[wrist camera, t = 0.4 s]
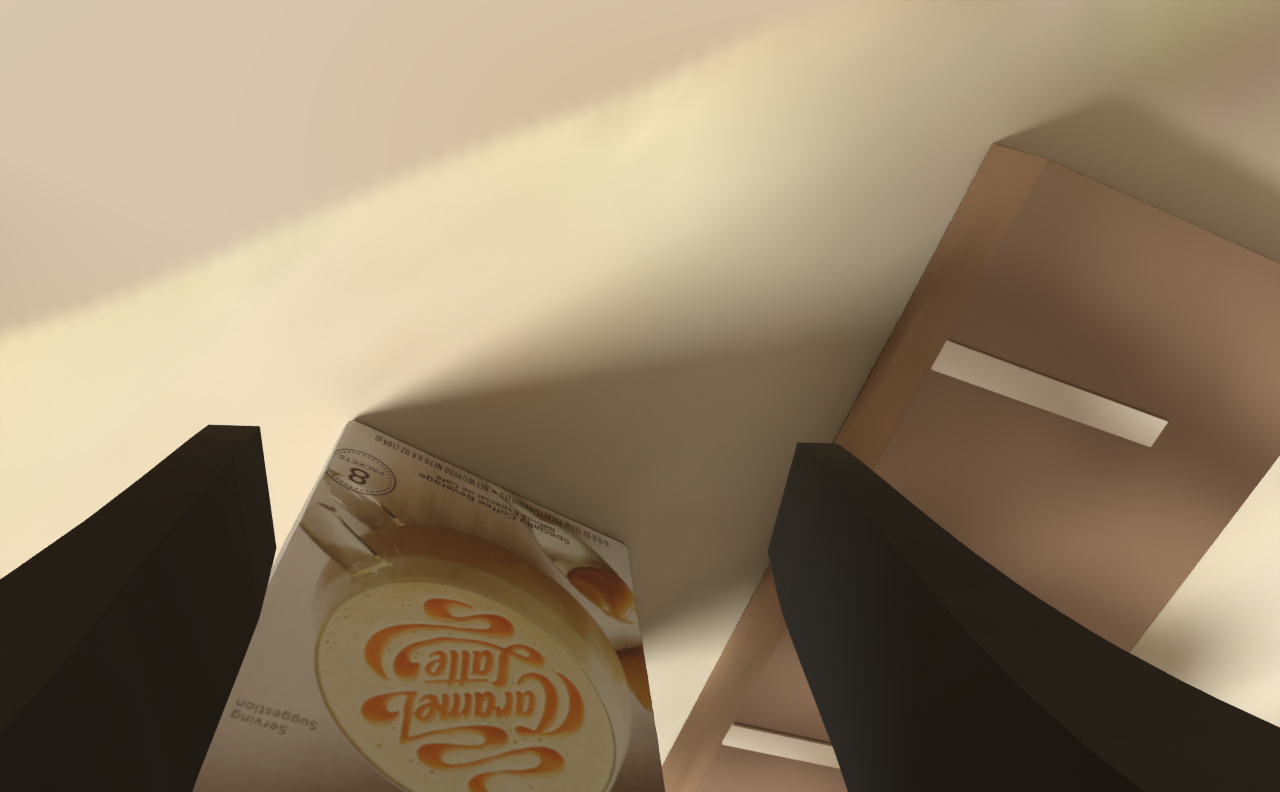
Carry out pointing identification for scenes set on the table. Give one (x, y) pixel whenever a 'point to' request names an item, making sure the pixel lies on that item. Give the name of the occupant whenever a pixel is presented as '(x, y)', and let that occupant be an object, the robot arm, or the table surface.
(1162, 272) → the walnut board
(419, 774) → the coffee box
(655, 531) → the table surface
